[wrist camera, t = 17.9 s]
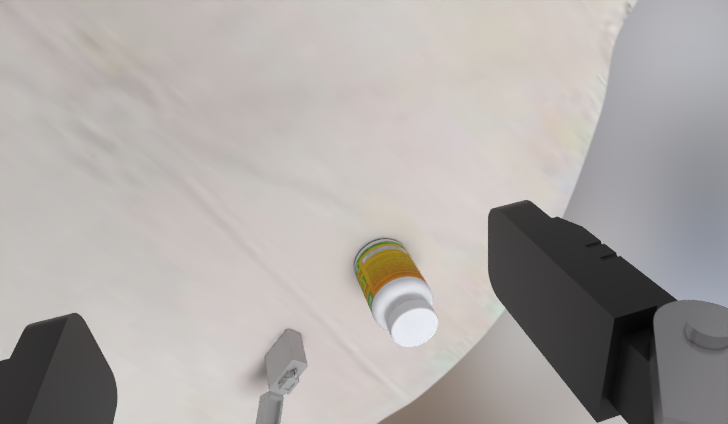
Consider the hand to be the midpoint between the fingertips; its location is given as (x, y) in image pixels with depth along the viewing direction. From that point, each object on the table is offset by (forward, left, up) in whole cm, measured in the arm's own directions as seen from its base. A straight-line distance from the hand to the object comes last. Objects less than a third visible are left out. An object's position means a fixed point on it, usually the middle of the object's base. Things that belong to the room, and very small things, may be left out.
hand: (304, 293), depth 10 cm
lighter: (-4, -30, -30) cm, 43 cm away
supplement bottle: (+8, -22, -30) cm, 38 cm away
